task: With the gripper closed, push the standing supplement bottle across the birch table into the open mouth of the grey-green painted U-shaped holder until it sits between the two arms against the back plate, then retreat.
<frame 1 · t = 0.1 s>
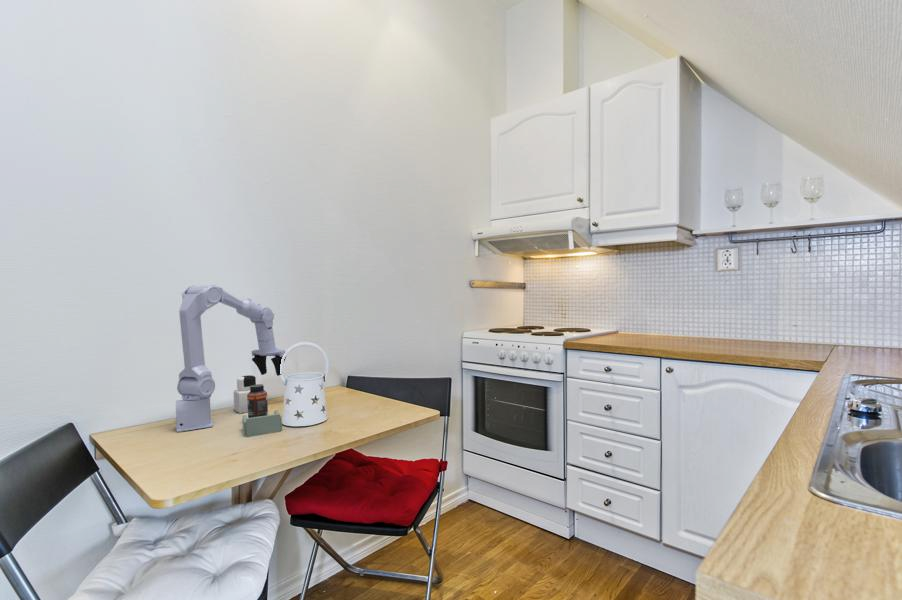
hand: (271, 374, 169), 11 cm above the table, tool pointing down, fingers open, 7 cm apart
holder: (262, 429, 134), on the table
supplement bottle: (258, 421, 144), on the table
medicine bottle: (247, 410, 158), on the table
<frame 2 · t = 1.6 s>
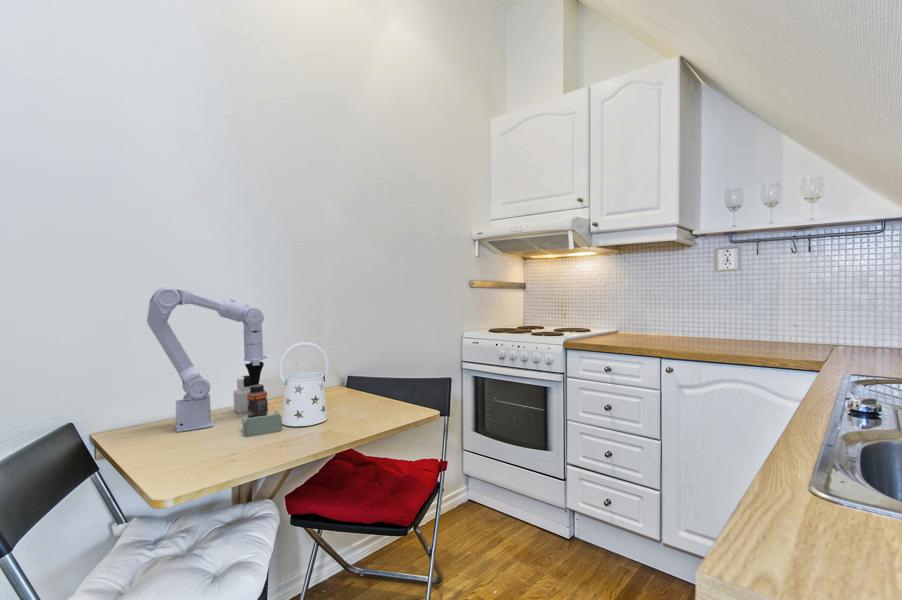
hand: (255, 384, 150), 10 cm above the table, tool pointing down, fingers closed
nothing on the table moved.
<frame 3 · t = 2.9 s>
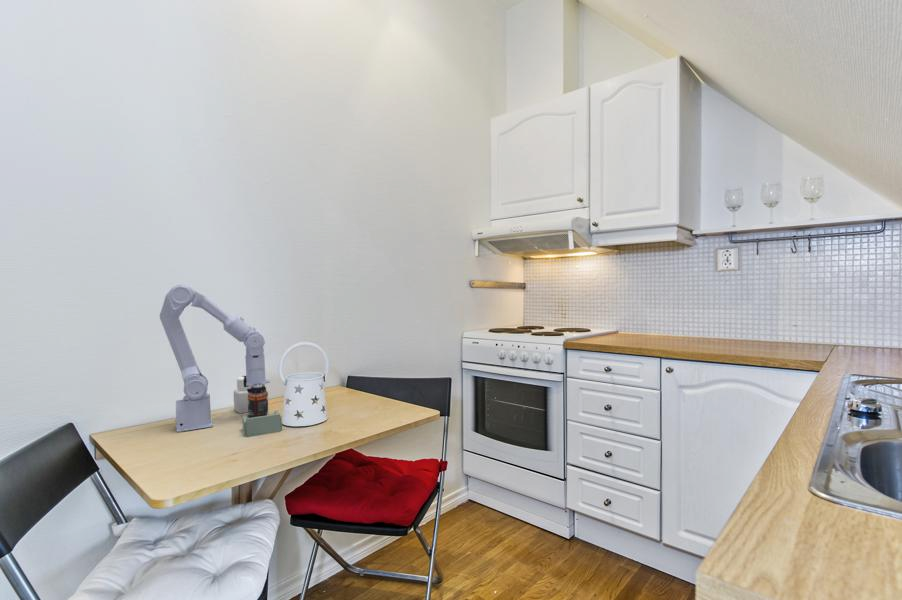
hand: (257, 409, 148), 3 cm above the table, tool pointing down, fingers closed
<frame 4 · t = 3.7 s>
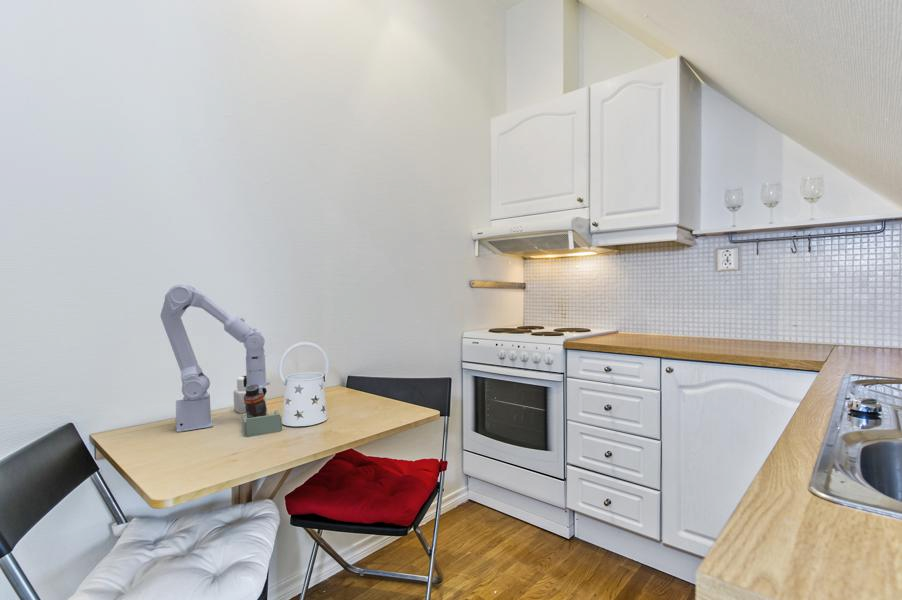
hand: (257, 411, 146), 2 cm above the table, tool pointing down, fingers closed
supplement bottle: (258, 419, 143), point 1 cm above the table, touching gripper
everything else where it was.
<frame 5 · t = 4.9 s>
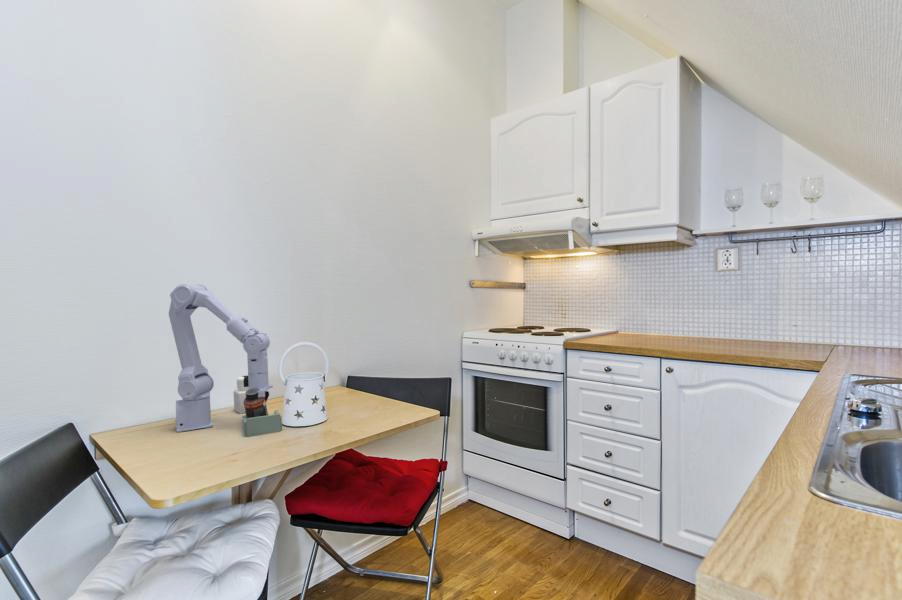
hand: (260, 416, 140), 3 cm above the table, tool pointing down, fingers closed, pressing on supplement bottle
supplement bottle: (258, 424, 137), point 1 cm above the table, touching gripper
everything else where it was.
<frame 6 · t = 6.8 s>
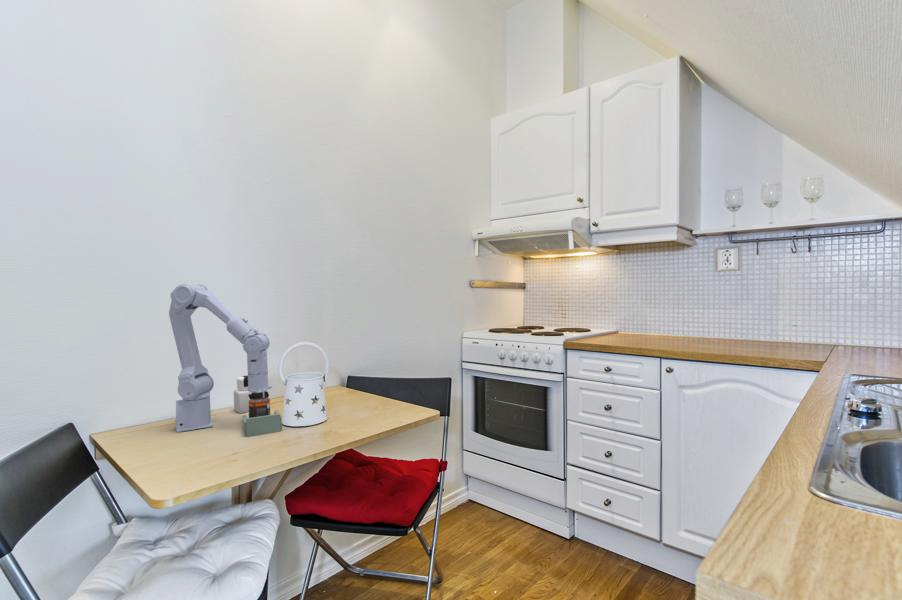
hand: (259, 416, 140), 2 cm above the table, tool pointing down, fingers closed
supplement bottle: (260, 429, 134), on the table
everything else where it was.
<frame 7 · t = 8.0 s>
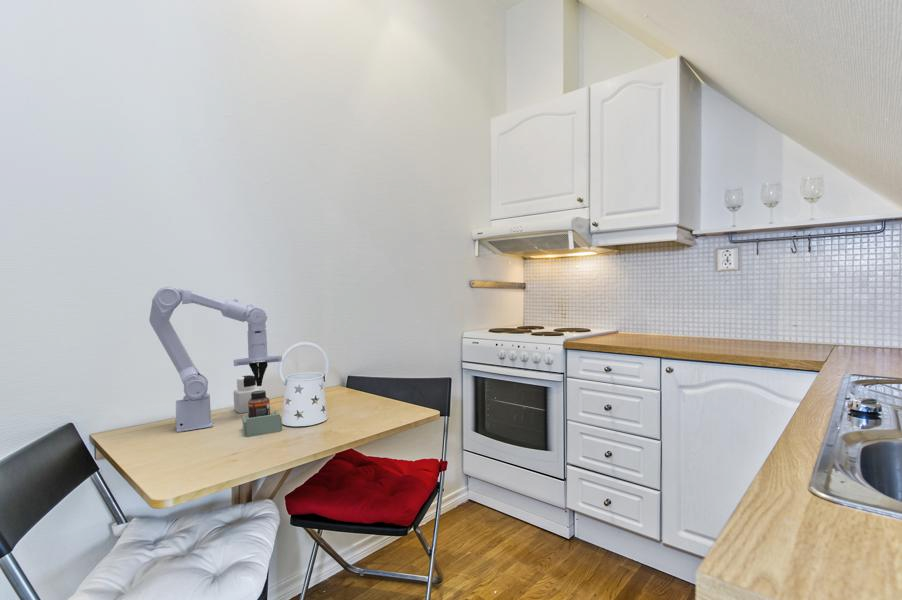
hand: (259, 385, 148), 10 cm above the table, tool pointing down, fingers closed
nothing on the table moved.
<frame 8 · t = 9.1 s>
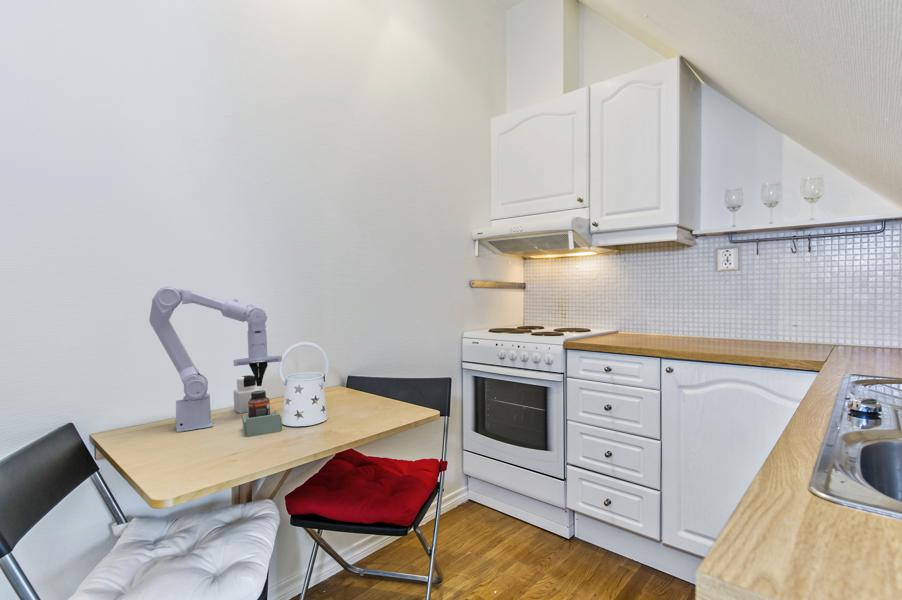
hand: (259, 385, 148), 10 cm above the table, tool pointing down, fingers closed
nothing on the table moved.
at the end: supplement bottle inside the target area (1.3 cm from its centre), on the table; supplement bottle tilted 0°; supplement bottle touching table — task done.
